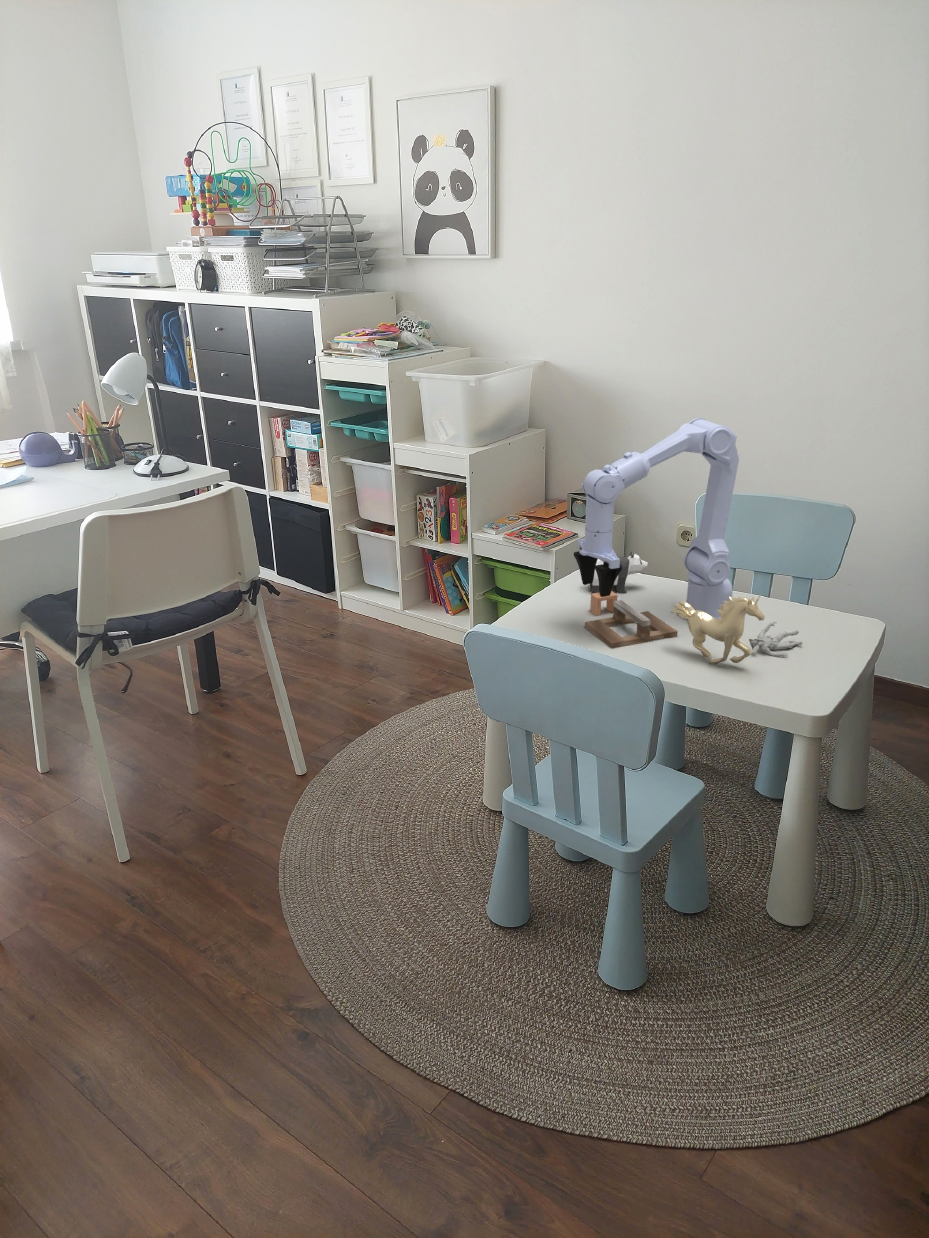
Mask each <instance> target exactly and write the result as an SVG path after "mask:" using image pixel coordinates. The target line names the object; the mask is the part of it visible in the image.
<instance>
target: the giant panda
mask: <svg viewBox="0 0 929 1238" xmlns="http://www.w3.org/2000/svg"><path fill="white" fill-rule="evenodd" d="M616 556H617V555H616ZM617 557H618V558H619V559H620V565H622V570H621V572H620V573H619V574H618V576H617V578H616V580H615V582H614V585H613V588H614V589H616V594H627V593H628V590H626V582H627V578H628V576H629V575H634V574H638V573H640V572H641V571H642V570H645V569H646V568H647V567H649V562H648V561H645V560H643V559H641V557H640V556H639V555H638V554H636V553H633V551H630V553H629V556H628V557H625V556H617ZM602 564H603V561H601V560H599V559H598V560H597V563H596V565H602ZM589 589H590V590H592V593H591V594H593V593H599V580H598V575H597V572H596V570H595V572H594V579H593V583H592V584H589Z"/></svg>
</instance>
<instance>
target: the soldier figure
mask: <svg viewBox="0 0 929 1238" xmlns="http://www.w3.org/2000/svg"><path fill="white" fill-rule="evenodd" d="M777 623H778V622H777V621H772V622H770V623H769V624H768V625H766V626H765V627H764V628H763V629H762V630H761V631H760V633H758V635H757V637H756V638H752V639H751V638H749V639H748V641H749V645H750V647H751V651H752V650H753V649H754V648H756V647H757V646H758V647H759V648H760V650H761V651H762V652H763V653H765V654H767V655H768V656H771V657H780V658H781V657H783V658H785V657H787V655H788V653H787V652H781V653H780V652H774V651H778V650H785V649H792V648H793V647H794V646H795V647H796V646H798V647H799V646H802V645H803V643H804V642H803V640H801V641H795V642H794V641H793V642H789V641H787V642H786V641H785V642H781V641H782V640H783V639H785V638H787V637H789V636H793V637H794V636H796V635H798V634H799V633H800V631H799V630H798V629H797V630H794V631H783V632H780V633H779V634H777V635H775V636H772V635H766V636H765V634H766V633H767V632H768V631H769V630H770V628H771V627H776V625H775V624H777ZM771 650H772V651H771Z"/></svg>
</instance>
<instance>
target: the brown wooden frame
mask: <svg viewBox="0 0 929 1238" xmlns="http://www.w3.org/2000/svg"><path fill="white" fill-rule="evenodd" d="M633 623H636V634H630V635H626V636H625V635H624V636H622V635H620V634H619V633H618V632H616V631H615V630H614V629H612V628H611V627H616V626H621V625H627V624H633ZM584 628H586V630H588V631H589V632H590V633H591V634H593V635H594V634H595V635H594V636H595V637H597V638H598V639H599V640H600V641H602V642H603V641H604V642H603V643H604V644H606V645H607V646H608V647H609V646H610V647H609V648H611V649H616V648H622V647H626V646H633V645H637V644H643V643H644V644H645V643H649V642H654V640H655V641H659V640H665V638H666V639H669V638H670V639H671V638H676V637H678V634H679V633H678V632H679V631H678V630H677V629H675V628H673V627H672V626H671V625H670V624H668V623H666V622H665V621H663V620H662V619H661V618H659V617H658V616H655V615H654V614H653V613H651V612H650V611H648V610H647V611H642V612H639V611H638V610H637V609H635V608H634V607H632V606H631V605H629V604H628V603H626V602H625V601H623V600H621V599H620V600H617V601H614V607H613V613H612V616H611V617H606V618H602V619H600V618H599V619H596V620H589V621H585V622H584ZM648 641H649V642H648Z"/></svg>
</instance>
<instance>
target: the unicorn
mask: <svg viewBox="0 0 929 1238" xmlns="http://www.w3.org/2000/svg"><path fill="white" fill-rule="evenodd" d="M761 594H762V593H760V594H759V595H758V597H757V598H756V600H755V598H754V596H752V597H751V599H750V598H747V597H744V596H738V597H733V596H732V597H730V596H729V598H730V601H723V603H724V604H722V605H720V607H721V608H722V609H719V610H717V611H718V612H719V613H718V614H719V615H720V617H721V618H714V617H712V616H710V615H709V614H708V613H706V612H704V611H700V610H695V609H694V608H693V607H692V606H691V605H690V604H689V603H687V602H686V601H684V600H683V601H682V600H680V601H679V602H678V603H675V604H674V608H673V609H672V610H670V613H672V614H673V613H676V614H675V615H676V616H677V617H678V616H679V617H681V618H683V619H685V620H687V625H688V629H689V632H690V634H691V636H692V638H693V639H692V646H693V647H694V648H695V649H697V650H698V651H699V652H700V653H701V655H702V656H703V657H704V658H706V659H709V658H711V657H712V656H711V652H710V651H709V650H708V649H707V648H706V647H705V646H704V645H703V643H705V642H706V640H707V639H706V638H707V636H708V637H710V638H711V639H713V640H715V641H717V642H722V643H724V650H723V655H722V657H719V658H713V659H711V660H709V662H708V663H709V664H711V665H718V664H719V663H723V662H726V661H727V659H728V658H729V655H730V653H731V650H732V647H733V646H734V647H736V648H737V649H739V650H740V651H742V652H743V655H741V656H737V655H736V656H733V657H730V658H729V661H731V662H732V663H734V664H737V663H740V662H742V661H744V659H746V658H747V657H749V656H750V655H751V654H752V653H751V652H752V649H751V648H750V646H748V645H746V644H744V643H743V642H741V641H740V639H741V638H742V636H743V634H744V628H745V617H746V615H749V616H751V617H754V618H756V619H758V621H764V620H765V618H766V616H765V613H763V611H762V610H761V609H759V605H758V602H759V600H760V598H761Z"/></svg>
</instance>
